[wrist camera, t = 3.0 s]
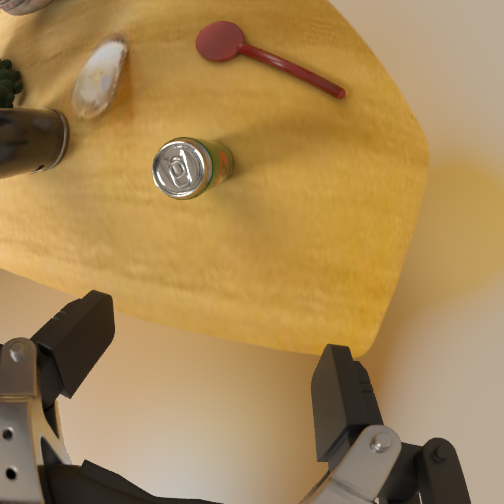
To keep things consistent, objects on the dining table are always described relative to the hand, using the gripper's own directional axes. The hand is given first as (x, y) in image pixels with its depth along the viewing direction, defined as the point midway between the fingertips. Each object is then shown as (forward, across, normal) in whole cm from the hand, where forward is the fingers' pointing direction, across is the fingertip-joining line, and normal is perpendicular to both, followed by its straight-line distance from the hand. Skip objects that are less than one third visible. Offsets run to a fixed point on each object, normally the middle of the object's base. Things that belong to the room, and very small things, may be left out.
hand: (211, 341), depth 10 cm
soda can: (+25, +6, -4) cm, 26 cm away
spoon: (+25, +2, -17) cm, 30 cm away
